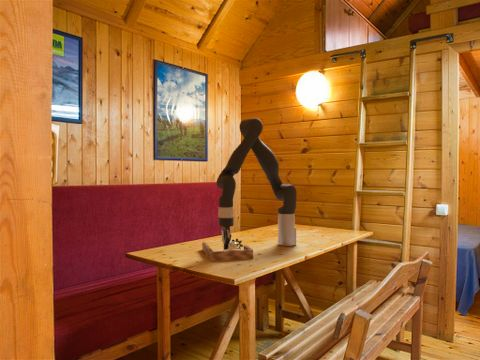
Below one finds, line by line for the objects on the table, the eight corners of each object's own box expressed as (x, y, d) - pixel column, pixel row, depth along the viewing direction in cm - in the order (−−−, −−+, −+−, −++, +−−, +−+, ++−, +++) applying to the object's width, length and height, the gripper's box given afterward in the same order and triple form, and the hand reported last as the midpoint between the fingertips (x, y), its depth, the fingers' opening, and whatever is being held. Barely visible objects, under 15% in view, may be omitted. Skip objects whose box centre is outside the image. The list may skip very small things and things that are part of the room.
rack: (239, 247, 197) (239, 239, 197) (253, 258, 172) (253, 248, 172) (202, 249, 192) (202, 241, 192) (210, 261, 167) (210, 251, 167)
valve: (237, 257, 175) (242, 252, 187) (238, 244, 174) (243, 239, 186) (224, 255, 176) (229, 250, 188) (225, 242, 176) (230, 237, 188)
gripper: (236, 217, 176) (236, 254, 176) (230, 214, 189) (230, 248, 189) (221, 218, 174) (221, 254, 174) (216, 215, 187) (216, 249, 187)
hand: (226, 251), depth 182 cm, fingers closed
